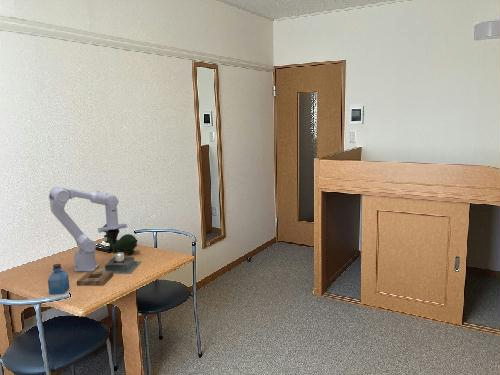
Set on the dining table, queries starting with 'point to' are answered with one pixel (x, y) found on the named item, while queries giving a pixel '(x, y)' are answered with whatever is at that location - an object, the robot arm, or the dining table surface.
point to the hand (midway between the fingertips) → (114, 243)
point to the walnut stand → (102, 276)
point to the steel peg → (119, 257)
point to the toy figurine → (122, 243)
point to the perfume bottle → (58, 281)
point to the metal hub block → (121, 266)
